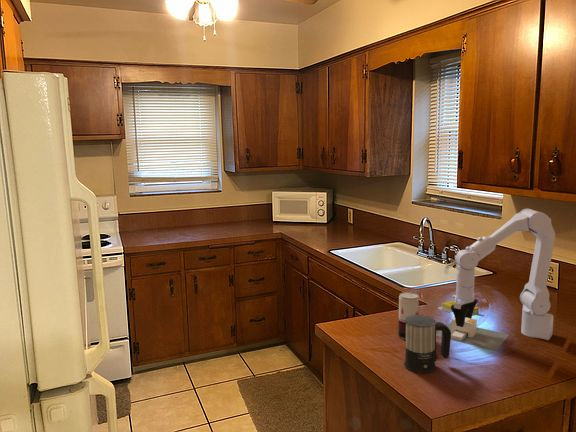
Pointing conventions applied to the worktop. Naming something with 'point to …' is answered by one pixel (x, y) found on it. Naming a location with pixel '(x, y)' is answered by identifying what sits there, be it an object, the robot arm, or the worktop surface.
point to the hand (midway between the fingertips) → (463, 322)
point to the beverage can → (406, 310)
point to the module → (466, 326)
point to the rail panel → (478, 338)
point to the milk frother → (424, 343)
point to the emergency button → (447, 305)
